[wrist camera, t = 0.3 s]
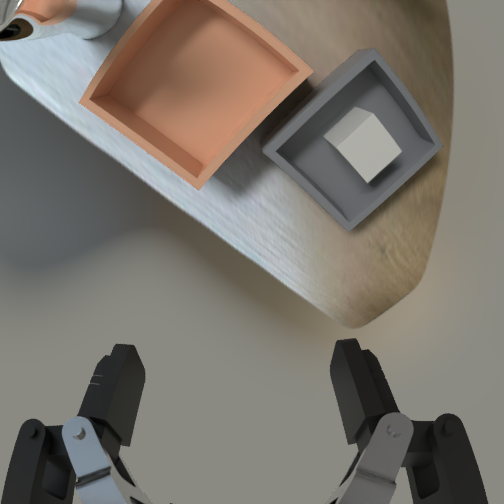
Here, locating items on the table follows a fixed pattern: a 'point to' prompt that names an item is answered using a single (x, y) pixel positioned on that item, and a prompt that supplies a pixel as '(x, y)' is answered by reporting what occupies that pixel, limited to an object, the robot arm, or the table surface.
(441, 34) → the table surface
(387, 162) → the off-white cube block
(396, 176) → the charcoal bin
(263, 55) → the terracotta tray
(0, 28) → the silver metal tumbler
